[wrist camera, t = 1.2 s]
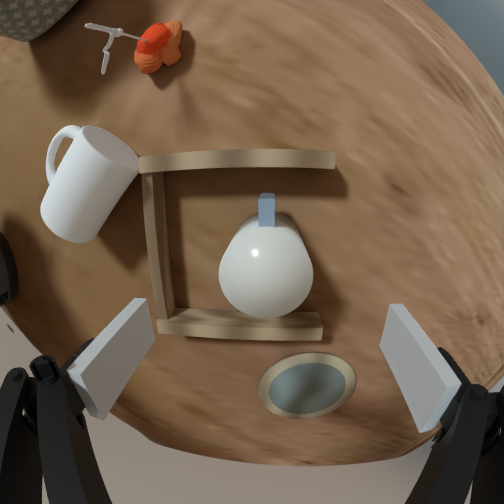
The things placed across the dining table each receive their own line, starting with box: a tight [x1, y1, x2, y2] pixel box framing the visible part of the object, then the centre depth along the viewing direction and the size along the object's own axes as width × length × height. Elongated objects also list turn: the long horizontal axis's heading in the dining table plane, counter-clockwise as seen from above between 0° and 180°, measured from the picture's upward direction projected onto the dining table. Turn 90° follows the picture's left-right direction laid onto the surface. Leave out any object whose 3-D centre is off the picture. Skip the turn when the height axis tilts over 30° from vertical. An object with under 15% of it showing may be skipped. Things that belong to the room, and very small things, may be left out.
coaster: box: [258, 352, 356, 419], centre depth 34 cm, size 14×14×1 cm
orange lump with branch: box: [85, 21, 182, 75], centre depth 17 cm, size 6×10×12 cm, turn 146°
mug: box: [40, 125, 139, 243], centre depth 24 cm, size 12×10×8 cm
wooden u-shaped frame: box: [139, 149, 335, 341], centre depth 27 cm, size 18×19×4 cm
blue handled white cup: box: [219, 193, 313, 318], centre depth 24 cm, size 7×9×9 cm
